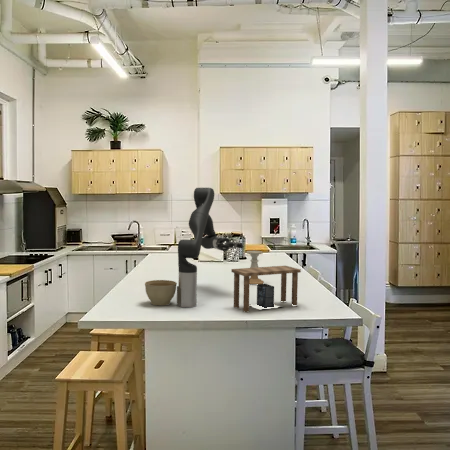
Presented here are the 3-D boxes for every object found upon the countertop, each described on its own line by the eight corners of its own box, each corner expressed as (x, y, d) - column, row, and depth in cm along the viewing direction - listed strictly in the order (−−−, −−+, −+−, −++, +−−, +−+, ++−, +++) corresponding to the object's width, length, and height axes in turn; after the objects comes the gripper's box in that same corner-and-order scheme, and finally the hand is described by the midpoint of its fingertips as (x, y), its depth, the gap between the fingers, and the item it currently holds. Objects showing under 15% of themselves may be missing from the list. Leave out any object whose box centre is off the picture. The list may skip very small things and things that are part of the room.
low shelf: (244, 312, 242) (245, 273, 240) (230, 306, 254) (231, 269, 253) (299, 306, 256) (300, 269, 255) (284, 301, 269) (285, 265, 267)
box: (256, 304, 257) (256, 284, 257) (265, 303, 260) (266, 283, 259) (264, 308, 250) (264, 287, 250) (274, 307, 253) (274, 286, 252)
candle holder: (240, 282, 321) (241, 250, 320) (257, 281, 327) (257, 250, 326) (250, 285, 311) (251, 253, 309) (267, 284, 316) (268, 252, 315)
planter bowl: (145, 307, 249) (145, 286, 248) (144, 300, 265) (144, 280, 264) (178, 306, 252) (178, 285, 251) (174, 299, 268) (175, 279, 267)
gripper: (210, 237, 283) (223, 240, 269) (232, 236, 290) (246, 239, 275) (210, 250, 284) (223, 254, 269) (232, 249, 290) (246, 253, 276)
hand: (235, 246), depth 272 cm, fingers open, 8 cm apart
